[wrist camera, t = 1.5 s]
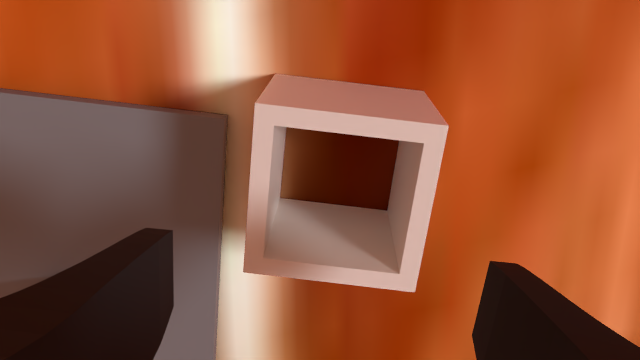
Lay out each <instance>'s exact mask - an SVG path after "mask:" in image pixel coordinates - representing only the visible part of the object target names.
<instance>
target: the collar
mask: <svg viewBox="0 0 640 360" xmlns="http://www.w3.org/2000/svg"><path fill="white" fill-rule="evenodd" d="M286 127H290V128H299V129H307V130H316V131H324V132H333V133H341V134H350V135H358V136H367V137H375V138H383V139H392V140H399V145H398V151H397V156H396V162H395V168H394V174H393V180H392V186H391V192H390V197H389V203H388V209H387V211H386V210H378V209H369V208H361V207H352V206H344V205H335V204H327V203H318V202H310V201H301V200H293V199H284V198H280V193H281V182H282V171H283V160H284V149H285V138H286ZM448 127H449V126H448V124H447V123H446V121H445V120H444V119H443V117H442V116H441V114H440V113H439V112H438V110H437V109H436V107H435V106H434V105H433V103H432V102H431V101H430V99H429V98H428V96H427V95H426V94H425V92H424V91H418V90H409V89H401V88H392V87H384V86H375V85H367V84H358V83H350V82H341V81H333V80H324V79H316V78H308V77H299V76H291V75H282V74H275V75H274V76H273V78H272V79H271V81H270V82H269V83H268V85H267V86H266V88H265V89H264V91H263V92H262V93H261V95H260V96H259V98H258V99H257V101H256V102H255V108H254V123H253V138H252V152H251V167H250V182H249V196H248V211H247V225H246V240H245V255H244V269H243V272H246V273H254V274H263V275H271V276H280V277H289V278H297V279H306V280H314V281H323V282H331V283H340V284H348V285H357V286H365V287H374V288H382V289H391V290H400V291H408V292H415V289H416V284H417V279H418V274H419V269H420V264H421V260H422V255H423V250H424V245H425V240H426V235H427V230H428V225H429V220H430V215H431V210H432V205H433V200H434V196H435V191H436V186H437V181H438V176H439V171H440V166H441V161H442V156H443V151H444V146H445V141H446V136H447V132H448Z"/></svg>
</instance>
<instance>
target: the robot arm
mask: <svg viewBox="0 0 640 360" xmlns="http://www.w3.org/2000/svg"><path fill="white" fill-rule="evenodd" d="M173 307H174V280H173V230H166V229H155V228H144V229H142V230H139V231H137V232H135V233H133V234H132V235H130V236H128V237H126V238H124V239H122V240H120V241H119V242H117V243H115V244H113V245H111V246H110V247H108V248H106V249H104V250H102V251H100V252H99V253H97V254H95V255H93V256H91V257H89V258H87V259H86V260H84V261H82V262H80V263H78V264H76V265H74V266H72V267H70V268H68V269H66V270H64V271H62V272H59V273H57V274H55V275H53V276H51V277H49V278H47V279H45V280H43V281H41V282H39V283H36V284H34V285H32V286H29V287H27V288H25V289H22V290H20V291H17V292H15V293H12V294H10V295H7V296H4V297H2V298H0V360H153V359H154V357H155V355H156V353H157V351H158V349H159V346H160V344H161V342H162V339H163V336H164V334H165V331H166V328H167V325H168V322H169V319H170V316H171V313H172V310H173ZM472 338H473V343H474V348H475V353H476V358H477V360H640V347H638V346H636V345H635V344H633V343H631V342H630V341H628V340H627V339H625V338H624V337H622V336H621V335H619V334H617V333H616V332H614V331H613V330H611V329H610V328H608V327H607V326H605V325H604V324H602V323H601V322H599V321H598V320H596V319H595V318H594V317H592V316H591V315H589V314H588V313H586V312H585V311H584V310H582V309H581V308H579V307H578V306H577V305H575V304H574V303H572V302H571V301H570V300H568V299H567V298H566V297H564V296H563V295H562V294H560V293H559V292H557V291H556V290H555V289H553V288H552V287H551V286H549V285H548V284H547V283H545V282H544V281H542V280H541V279H540V278H538V277H537V276H535V275H534V274H533V273H531V272H530V271H528V270H527V269H525V268H524V267H522V266H520V265H518V264H515V263H505V262H495V261H490V263H489V267H488V271H487V275H486V280H485V284H484V288H483V292H482V296H481V300H480V304H479V308H478V313H477V317H476V321H475V325H474V329H473V333H472Z"/></svg>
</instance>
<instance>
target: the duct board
mask: <svg viewBox="0 0 640 360" xmlns="http://www.w3.org/2000/svg"><path fill="white" fill-rule="evenodd" d="M227 120H228V115H222V114H214V113H206V112H197V111H189V110H180V109H172V108H163V107H155V106H146V105H138V104H129V103H121V102H112V101H104V100H95V99H87V98H78V97H70V96H61V95H53V94H44V93H36V92H28V91H19V90H11V89H2V88H0V298H2V297H4V296H7V295H10V294H12V293H15V292H17V291H20V290H22V289H25V288H27V287H29V286H32V285H34V284H36V283H39V282H41V281H43V280H45V279H47V278H49V277H51V276H53V275H55V274H57V273H59V272H62V271H64V270H66V269H68V268H70V267H72V266H74V265H76V264H78V263H80V262H82V261H84V260H86V259H87V258H89V257H91V256H93V255H95V254H97V253H99V252H100V251H102V250H104V249H106V248H108V247H110V246H111V245H113V244H115V243H117V242H119V241H120V240H122V239H124V238H126V237H128V236H130V235H132V234H133V233H135V232H137V231H139V230H142V229H144V228H155V229H166V230H173V280H174V307H173V310H172V313H171V316H170V319H169V322H168V325H167V328H166V331H165V334H164V336H163V339H162V342H161V344H160V346H159V349H158V351H157V353H156V355H155V357H154V359H153V360H215V358H216V338H217V318H218V299H219V279H220V259H221V239H222V219H223V199H224V179H225V160H226V140H227Z"/></svg>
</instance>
